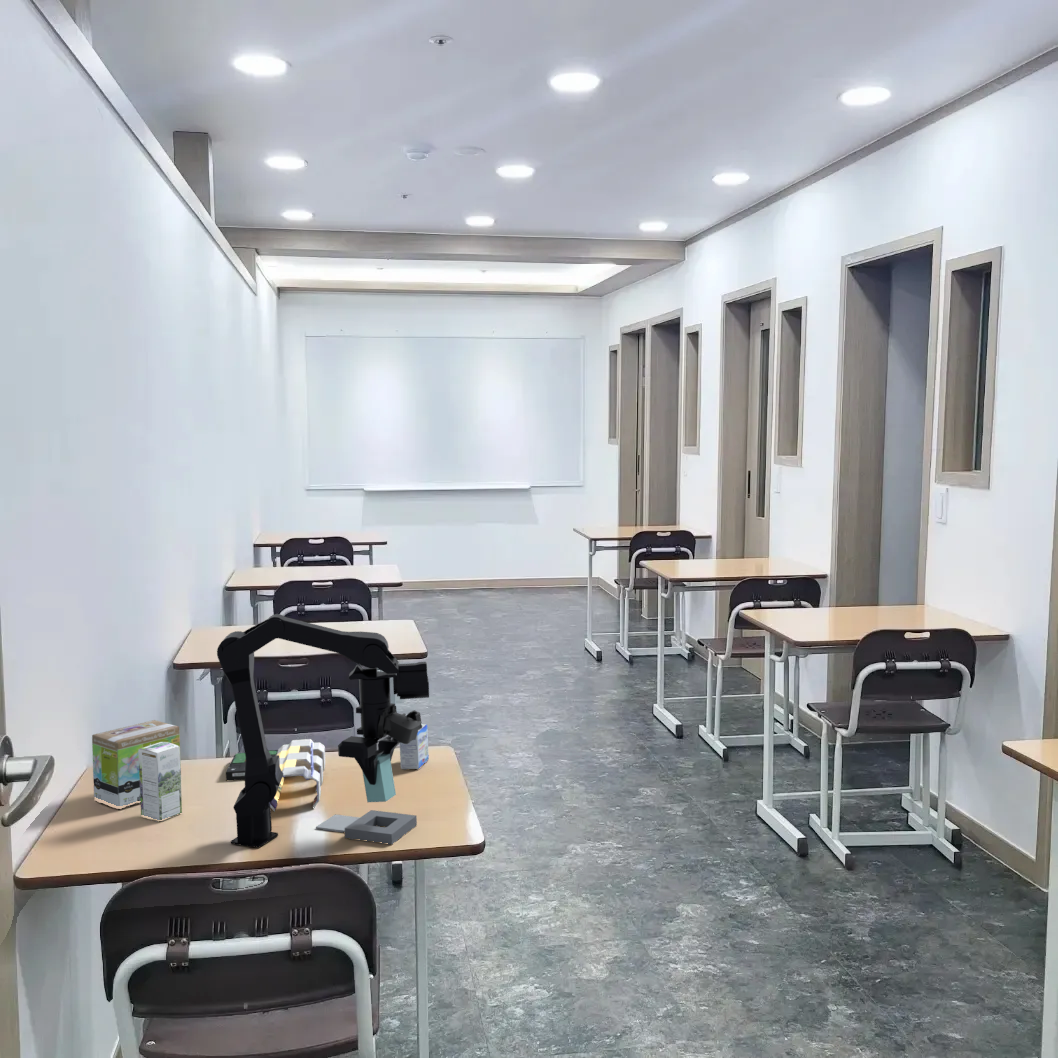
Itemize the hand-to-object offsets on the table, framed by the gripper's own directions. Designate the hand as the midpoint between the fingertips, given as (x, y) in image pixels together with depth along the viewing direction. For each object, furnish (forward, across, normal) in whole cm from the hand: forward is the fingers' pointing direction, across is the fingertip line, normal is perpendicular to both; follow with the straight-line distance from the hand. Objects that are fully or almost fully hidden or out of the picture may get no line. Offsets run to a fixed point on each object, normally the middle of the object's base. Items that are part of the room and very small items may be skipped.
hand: (378, 780), depth 195 cm
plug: (+3, 0, -1) cm, 3 cm away
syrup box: (+10, -6, +47) cm, 48 cm away
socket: (+10, 0, 0) cm, 10 cm away
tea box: (+10, +2, +60) cm, 61 cm away
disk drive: (+11, +25, +47) cm, 54 cm away
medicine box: (+10, +39, +13) cm, 42 cm away
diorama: (+10, +16, +29) cm, 35 cm away
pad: (+10, +1, +9) cm, 14 cm away
